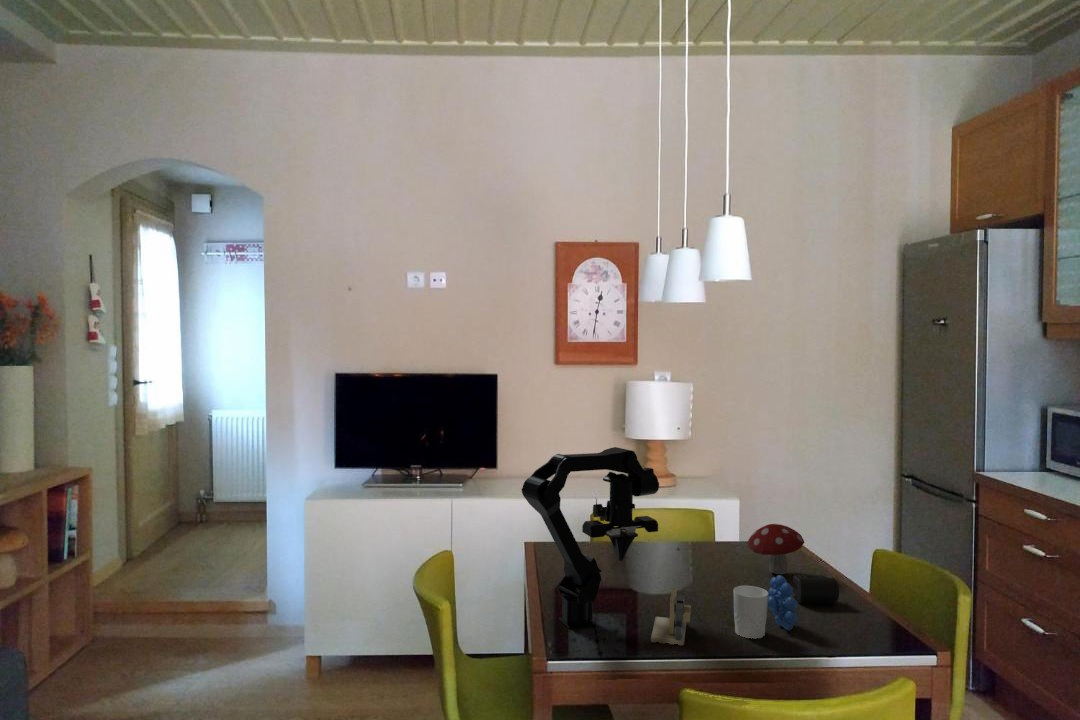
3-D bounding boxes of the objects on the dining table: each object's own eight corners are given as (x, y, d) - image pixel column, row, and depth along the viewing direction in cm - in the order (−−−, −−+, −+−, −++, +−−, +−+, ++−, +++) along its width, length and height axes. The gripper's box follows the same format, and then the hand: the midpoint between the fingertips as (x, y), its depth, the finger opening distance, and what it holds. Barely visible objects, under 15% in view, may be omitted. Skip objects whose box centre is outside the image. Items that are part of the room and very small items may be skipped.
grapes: (753, 618, 182) (754, 570, 181) (778, 616, 183) (780, 569, 183) (777, 637, 170) (778, 586, 170) (803, 635, 172) (805, 584, 171)
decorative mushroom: (802, 586, 205) (803, 533, 205) (743, 578, 211) (745, 527, 211) (804, 570, 220) (805, 520, 219) (749, 563, 226) (750, 514, 225)
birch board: (651, 641, 167) (651, 637, 167) (655, 620, 179) (655, 616, 179) (683, 645, 165) (683, 641, 165) (686, 623, 177) (686, 619, 177)
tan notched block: (669, 634, 168) (670, 599, 168) (671, 620, 176) (672, 587, 176) (689, 636, 167) (690, 601, 167) (690, 622, 175) (691, 589, 174)
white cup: (747, 642, 167) (748, 599, 167) (725, 629, 175) (726, 587, 174) (774, 637, 170) (775, 594, 170) (752, 624, 178) (753, 583, 177)
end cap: (800, 607, 190) (801, 581, 189) (790, 597, 197) (791, 572, 196) (839, 607, 190) (840, 582, 190) (827, 598, 197) (828, 573, 197)
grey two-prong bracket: (674, 639, 166) (674, 610, 166) (676, 619, 177) (677, 592, 177) (682, 640, 165) (682, 611, 165) (684, 620, 177) (685, 593, 177)
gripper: (638, 489, 194) (637, 548, 195) (573, 494, 188) (572, 554, 188) (660, 498, 184) (658, 560, 185) (592, 503, 177) (591, 567, 178)
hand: (619, 560), depth 184 cm, fingers closed
